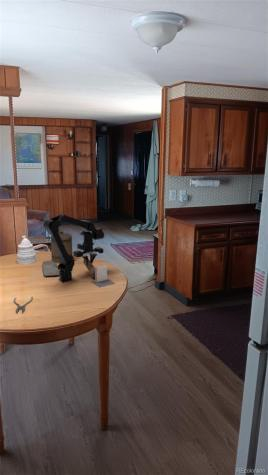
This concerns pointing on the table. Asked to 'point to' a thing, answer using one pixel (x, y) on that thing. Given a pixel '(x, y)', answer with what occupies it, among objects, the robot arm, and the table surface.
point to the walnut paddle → (90, 268)
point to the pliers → (21, 306)
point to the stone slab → (50, 268)
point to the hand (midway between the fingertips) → (88, 265)
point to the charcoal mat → (103, 283)
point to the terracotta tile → (101, 273)
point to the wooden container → (67, 243)
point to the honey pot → (26, 252)
